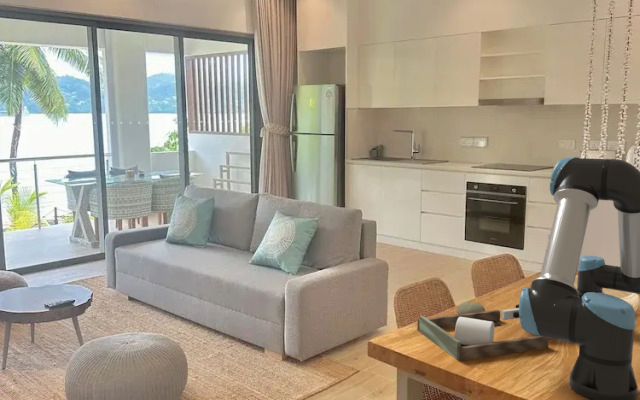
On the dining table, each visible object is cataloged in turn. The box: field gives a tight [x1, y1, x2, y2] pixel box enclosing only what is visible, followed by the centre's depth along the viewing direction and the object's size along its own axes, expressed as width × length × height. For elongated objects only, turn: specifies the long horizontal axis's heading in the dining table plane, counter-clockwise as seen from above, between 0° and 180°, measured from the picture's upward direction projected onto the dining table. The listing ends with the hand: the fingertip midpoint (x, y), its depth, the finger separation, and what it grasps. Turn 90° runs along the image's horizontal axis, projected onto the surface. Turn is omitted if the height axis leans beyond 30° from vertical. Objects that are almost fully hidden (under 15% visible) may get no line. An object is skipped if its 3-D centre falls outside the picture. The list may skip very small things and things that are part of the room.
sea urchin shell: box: [456, 301, 486, 315], centre depth 191 cm, size 9×8×8 cm
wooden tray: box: [416, 309, 550, 362], centre depth 172 cm, size 30×24×5 cm
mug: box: [454, 317, 495, 346], centre depth 168 cm, size 12×10×8 cm
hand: (502, 315), depth 173 cm, fingers closed
